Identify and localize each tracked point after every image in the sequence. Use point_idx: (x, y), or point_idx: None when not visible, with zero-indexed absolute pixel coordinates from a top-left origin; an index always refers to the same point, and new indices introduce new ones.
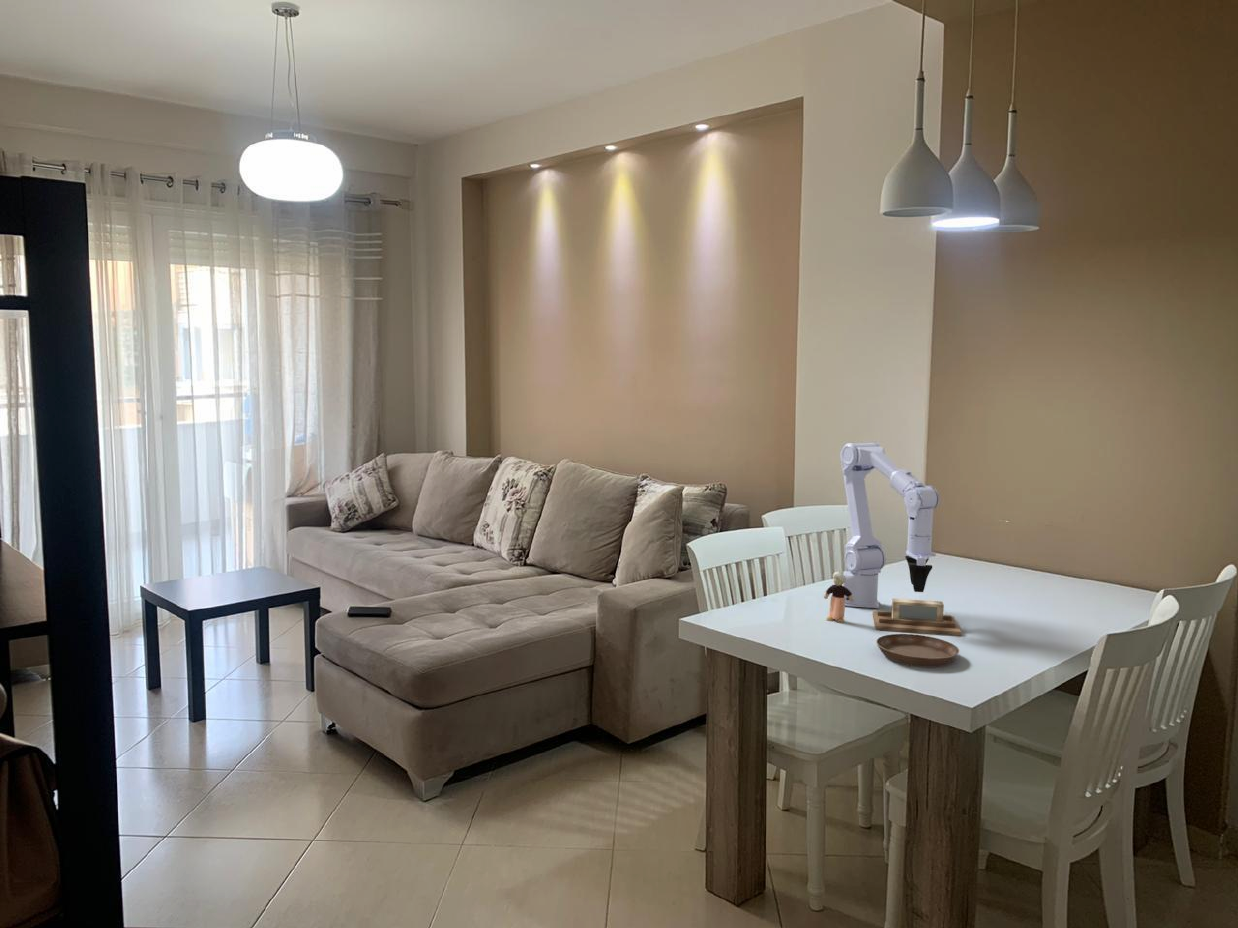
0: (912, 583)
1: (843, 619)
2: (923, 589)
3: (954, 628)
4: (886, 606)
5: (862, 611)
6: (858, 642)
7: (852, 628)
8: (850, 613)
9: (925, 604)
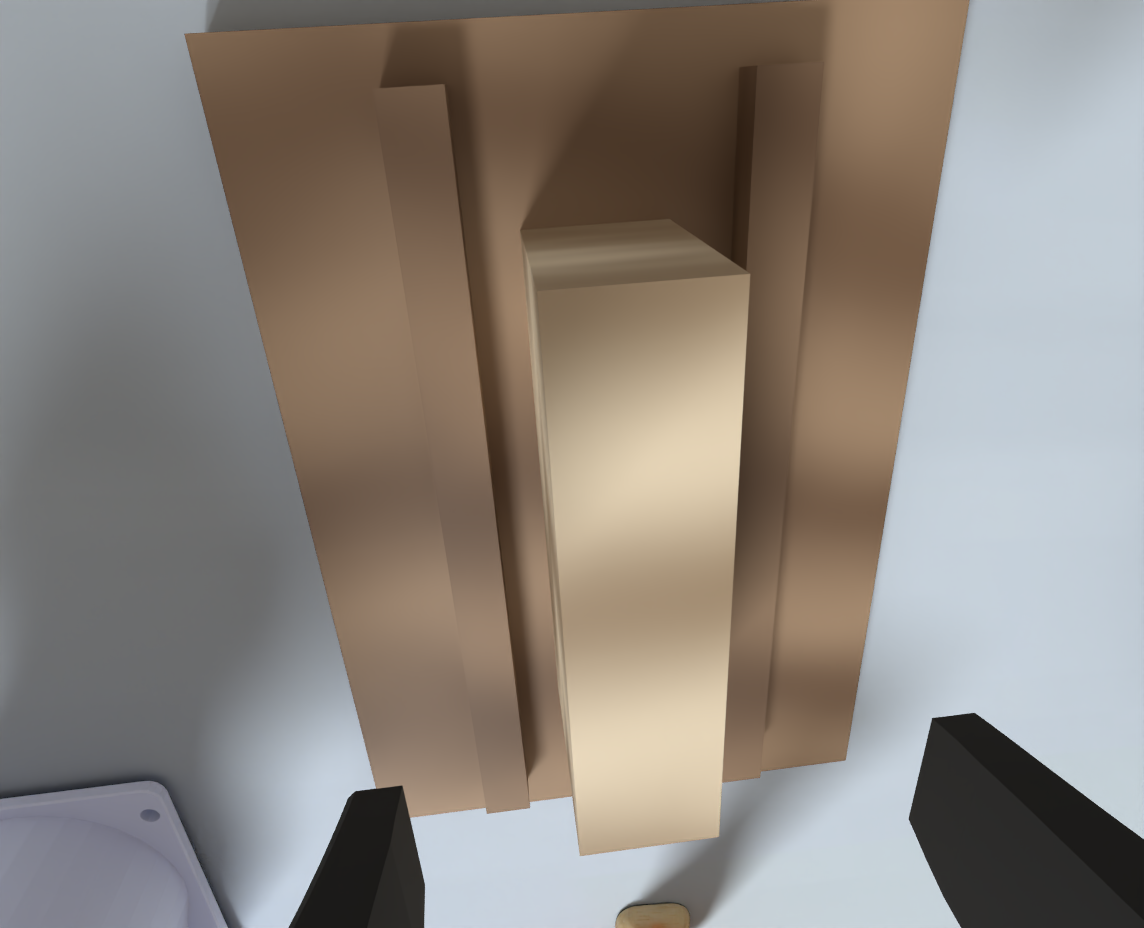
0: (419, 892)
1: (653, 917)
2: (1019, 748)
3: (824, 74)
4: (15, 733)
5: (322, 854)
6: (1130, 782)
7: (820, 845)
8: (425, 903)
9: (731, 525)
